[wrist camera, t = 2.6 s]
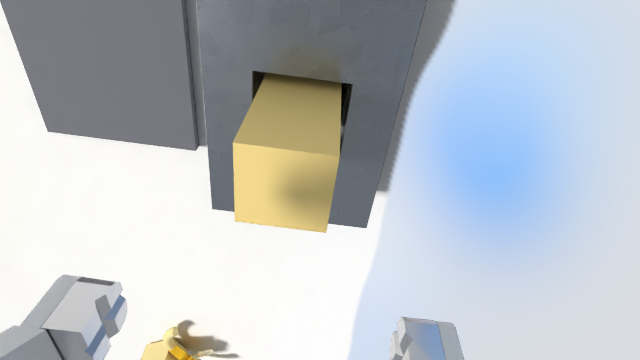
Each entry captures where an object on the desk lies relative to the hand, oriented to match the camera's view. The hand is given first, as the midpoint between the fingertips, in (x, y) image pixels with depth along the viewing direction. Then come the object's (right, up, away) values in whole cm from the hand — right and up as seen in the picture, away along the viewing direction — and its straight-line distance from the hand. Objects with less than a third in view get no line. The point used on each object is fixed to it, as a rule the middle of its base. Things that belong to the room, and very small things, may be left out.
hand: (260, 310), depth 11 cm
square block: (+1, +9, +12) cm, 15 cm away
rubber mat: (-11, +11, +12) cm, 19 cm away
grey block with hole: (+1, +9, +12) cm, 15 cm away
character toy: (-13, -15, +32) cm, 37 cm away
